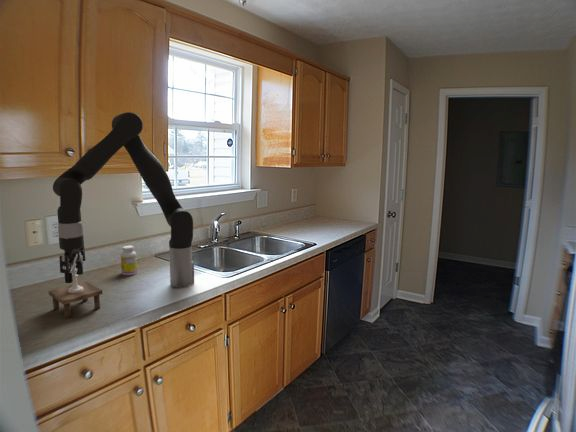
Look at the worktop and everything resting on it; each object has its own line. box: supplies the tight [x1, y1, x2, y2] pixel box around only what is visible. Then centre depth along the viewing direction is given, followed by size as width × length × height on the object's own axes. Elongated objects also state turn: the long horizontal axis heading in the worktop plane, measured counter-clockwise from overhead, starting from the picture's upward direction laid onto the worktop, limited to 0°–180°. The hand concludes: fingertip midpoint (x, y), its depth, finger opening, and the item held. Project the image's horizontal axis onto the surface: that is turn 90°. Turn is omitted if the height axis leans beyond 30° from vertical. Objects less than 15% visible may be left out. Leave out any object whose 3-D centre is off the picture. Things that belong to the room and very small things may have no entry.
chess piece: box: [68, 265, 84, 293], centre depth 134 cm, size 5×5×10 cm
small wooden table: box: [48, 281, 103, 320], centre depth 135 cm, size 13×13×7 cm
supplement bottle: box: [120, 245, 138, 276], centre depth 173 cm, size 7×7×13 cm
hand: (74, 278), depth 134 cm, fingers open, 8 cm apart
